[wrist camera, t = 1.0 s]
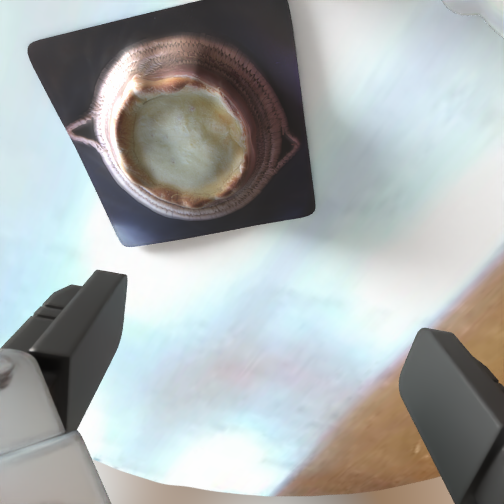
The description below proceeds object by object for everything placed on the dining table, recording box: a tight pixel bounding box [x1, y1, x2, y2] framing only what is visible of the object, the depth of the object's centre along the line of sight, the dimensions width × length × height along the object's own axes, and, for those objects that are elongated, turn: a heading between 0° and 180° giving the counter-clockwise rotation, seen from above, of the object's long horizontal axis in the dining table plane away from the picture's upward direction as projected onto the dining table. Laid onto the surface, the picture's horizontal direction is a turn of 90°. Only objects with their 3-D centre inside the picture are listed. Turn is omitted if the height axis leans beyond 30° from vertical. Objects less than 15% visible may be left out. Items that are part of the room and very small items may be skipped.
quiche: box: [28, 0, 315, 247], centre depth 35 cm, size 21×20×4 cm
